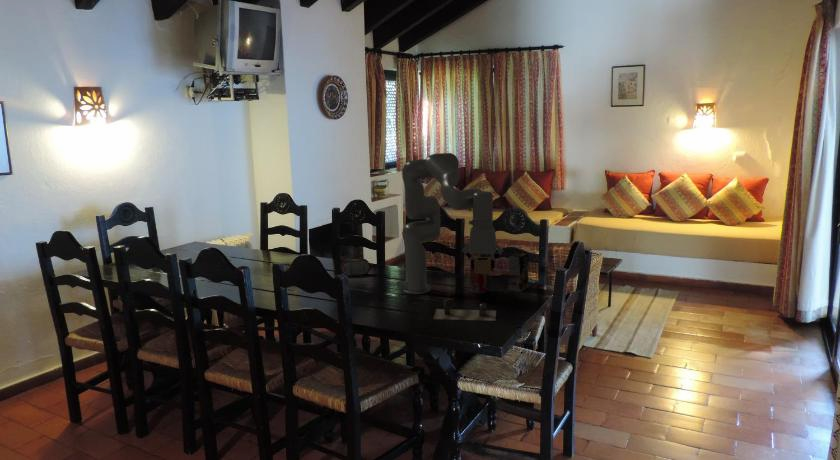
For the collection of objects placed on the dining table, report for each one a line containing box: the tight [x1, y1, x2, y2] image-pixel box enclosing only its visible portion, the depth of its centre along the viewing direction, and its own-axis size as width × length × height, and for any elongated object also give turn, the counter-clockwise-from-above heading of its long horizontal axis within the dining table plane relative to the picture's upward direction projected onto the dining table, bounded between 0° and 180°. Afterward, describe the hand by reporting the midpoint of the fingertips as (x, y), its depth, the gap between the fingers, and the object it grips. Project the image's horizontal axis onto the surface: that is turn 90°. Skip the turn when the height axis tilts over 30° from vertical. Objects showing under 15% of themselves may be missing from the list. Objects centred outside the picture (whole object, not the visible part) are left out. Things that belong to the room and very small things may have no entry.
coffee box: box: [507, 252, 530, 293], centre depth 272 cm, size 9×6×16 cm
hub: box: [478, 302, 488, 316], centre depth 235 cm, size 3×3×4 cm
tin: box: [339, 258, 371, 277], centre depth 301 cm, size 15×3×8 cm, turn 106°
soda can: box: [469, 266, 487, 295], centre depth 269 cm, size 7×7×13 cm
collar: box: [474, 256, 492, 275], centre depth 232 cm, size 6×6×5 cm
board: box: [432, 299, 497, 322], centre depth 236 cm, size 24×12×7 cm, turn 83°
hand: (482, 269), depth 232 cm, fingers closed on collar, 6 cm apart
